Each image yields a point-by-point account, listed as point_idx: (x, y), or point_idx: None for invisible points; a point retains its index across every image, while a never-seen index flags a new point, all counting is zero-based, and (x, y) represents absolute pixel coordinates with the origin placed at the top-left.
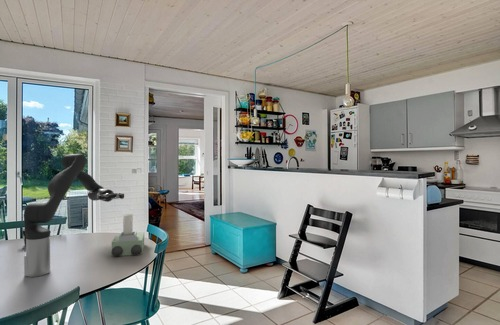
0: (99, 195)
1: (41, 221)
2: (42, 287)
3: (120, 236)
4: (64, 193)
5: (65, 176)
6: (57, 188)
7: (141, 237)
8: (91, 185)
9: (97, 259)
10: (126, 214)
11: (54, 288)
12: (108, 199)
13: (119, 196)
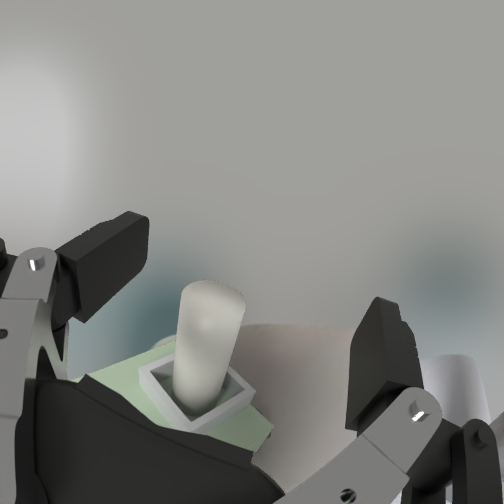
0: (496, 475)
1: None
2: (450, 400)
3: (250, 386)
4: None
5: None
6: None
7: (146, 357)
8: None
9: (307, 469)
10: (207, 313)
11: (434, 381)
12: (354, 335)
13: (57, 310)
